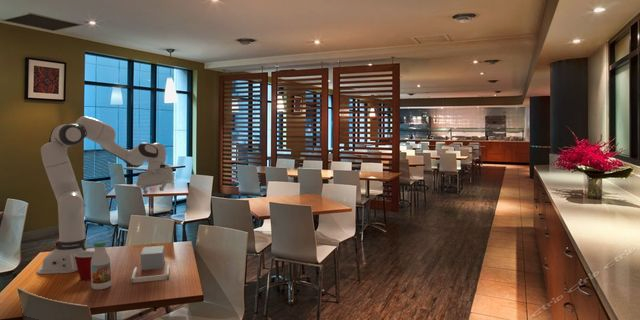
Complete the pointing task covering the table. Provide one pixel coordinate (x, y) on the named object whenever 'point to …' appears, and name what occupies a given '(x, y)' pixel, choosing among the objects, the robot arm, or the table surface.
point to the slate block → (152, 257)
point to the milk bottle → (100, 267)
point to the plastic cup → (84, 264)
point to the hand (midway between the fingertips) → (153, 192)
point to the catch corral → (149, 278)
